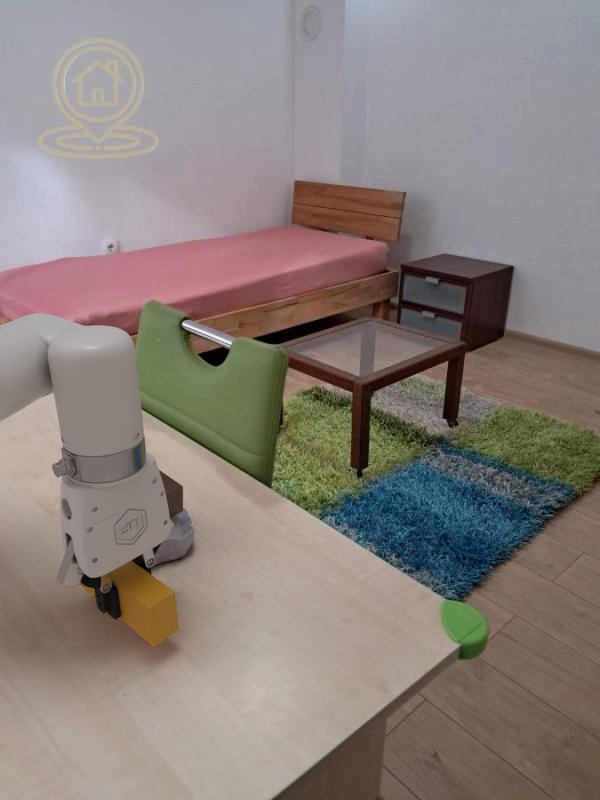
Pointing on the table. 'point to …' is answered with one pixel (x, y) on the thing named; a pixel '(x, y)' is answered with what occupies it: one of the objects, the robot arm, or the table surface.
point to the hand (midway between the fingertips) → (126, 601)
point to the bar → (144, 603)
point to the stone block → (176, 539)
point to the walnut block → (173, 494)
